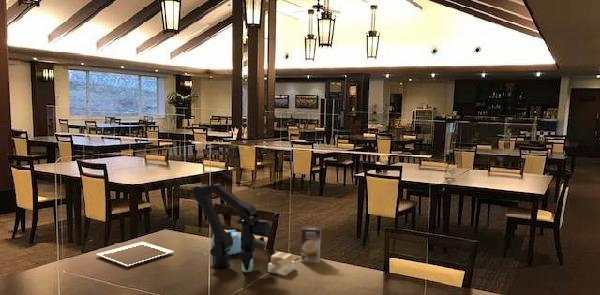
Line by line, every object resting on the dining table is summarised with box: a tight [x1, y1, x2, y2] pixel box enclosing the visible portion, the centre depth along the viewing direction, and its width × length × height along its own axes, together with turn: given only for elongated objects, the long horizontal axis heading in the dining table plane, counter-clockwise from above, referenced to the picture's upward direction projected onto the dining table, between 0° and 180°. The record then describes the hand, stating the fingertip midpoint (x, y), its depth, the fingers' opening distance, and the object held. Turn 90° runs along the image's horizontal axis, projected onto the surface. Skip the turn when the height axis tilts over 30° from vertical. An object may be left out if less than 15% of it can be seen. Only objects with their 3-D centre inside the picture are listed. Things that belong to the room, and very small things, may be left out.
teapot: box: [210, 229, 241, 256], centre depth 228 cm, size 15×15×11 cm
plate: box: [95, 241, 175, 267], centre depth 219 cm, size 26×26×2 cm
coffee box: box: [300, 225, 322, 264], centre depth 215 cm, size 9×6×16 cm
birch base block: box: [267, 260, 296, 276], centre depth 202 cm, size 9×9×4 cm
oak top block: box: [270, 251, 293, 266], centre depth 201 cm, size 7×7×4 cm
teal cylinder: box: [241, 258, 254, 273], centre depth 200 cm, size 5×5×6 cm
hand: (247, 267), depth 201 cm, fingers closed on teal cylinder, 5 cm apart
